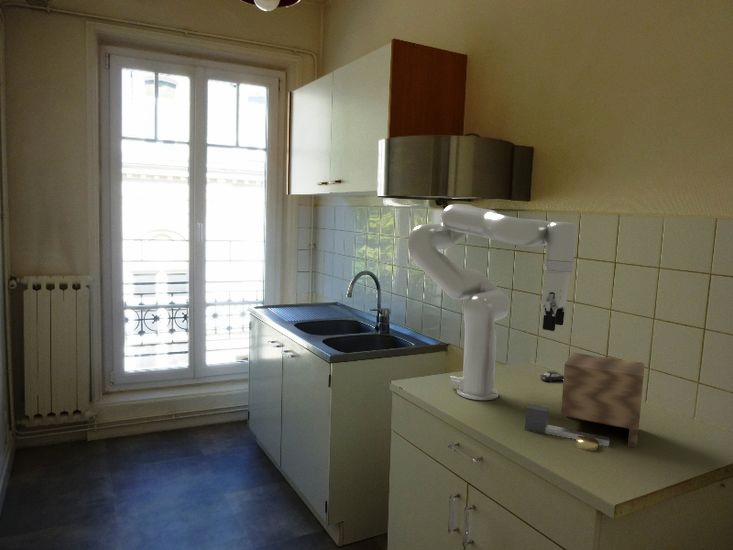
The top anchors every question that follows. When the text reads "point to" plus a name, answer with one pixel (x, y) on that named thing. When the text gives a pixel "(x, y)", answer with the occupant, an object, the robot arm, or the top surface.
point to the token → (586, 442)
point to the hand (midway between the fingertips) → (553, 327)
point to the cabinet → (604, 392)
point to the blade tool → (539, 420)
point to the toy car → (551, 376)
